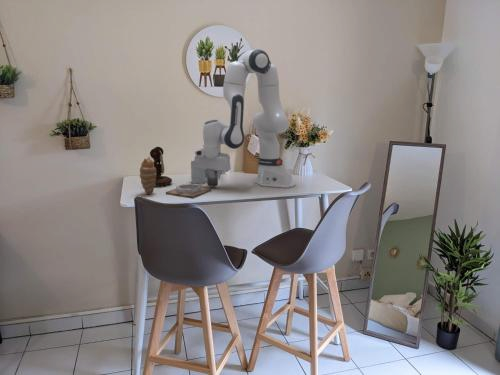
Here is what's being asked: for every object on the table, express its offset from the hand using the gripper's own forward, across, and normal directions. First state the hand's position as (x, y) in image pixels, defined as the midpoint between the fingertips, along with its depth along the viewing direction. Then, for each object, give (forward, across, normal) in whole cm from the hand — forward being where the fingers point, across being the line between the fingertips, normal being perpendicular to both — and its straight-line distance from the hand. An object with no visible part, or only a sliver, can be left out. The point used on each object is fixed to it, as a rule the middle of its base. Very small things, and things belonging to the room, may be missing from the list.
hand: (212, 178), depth 206 cm
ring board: (+5, +5, +14) cm, 16 cm away
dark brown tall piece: (+5, +29, +8) cm, 31 cm away
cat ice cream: (+5, +20, +26) cm, 34 cm away
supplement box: (+5, +13, -8) cm, 16 cm away
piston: (+4, 0, 0) cm, 4 cm away
